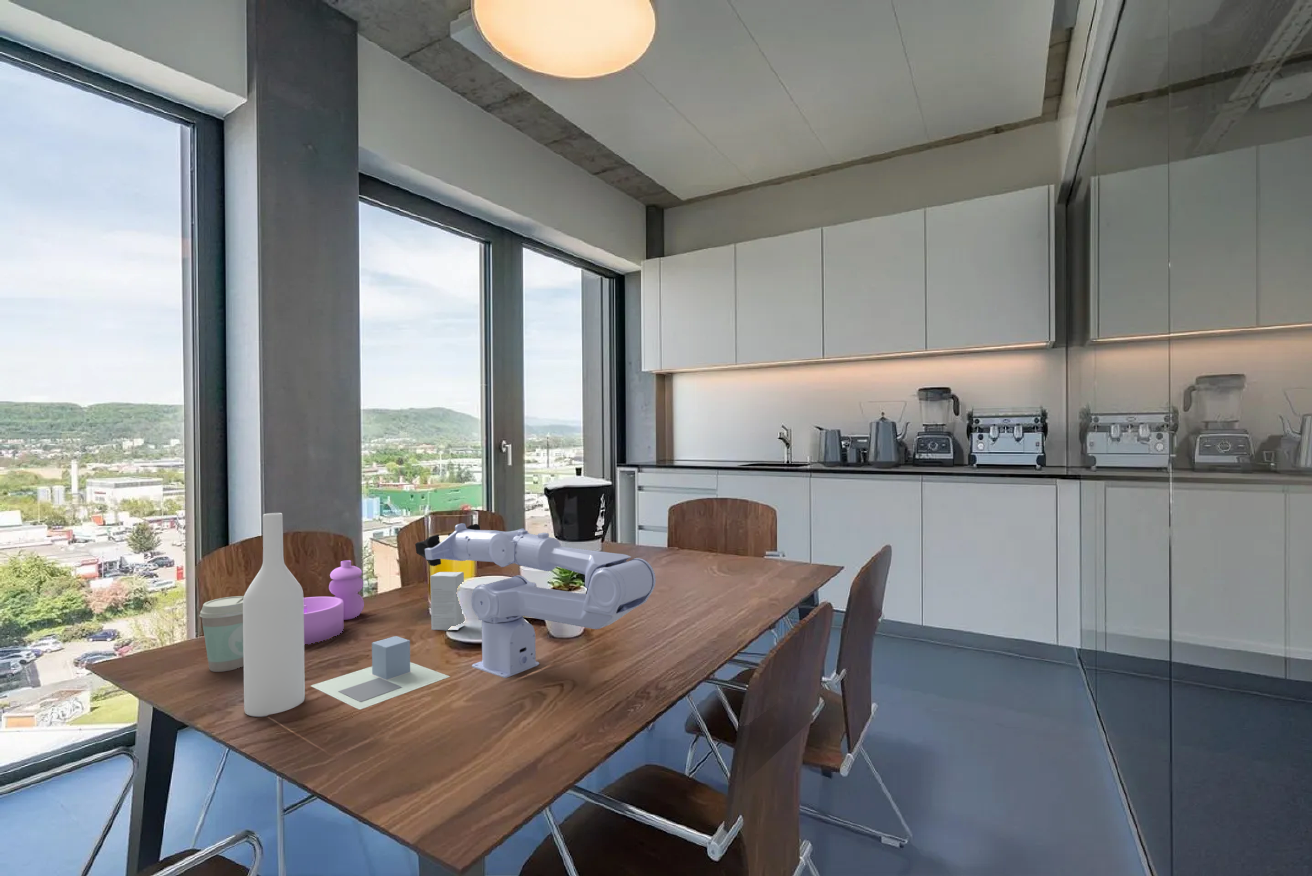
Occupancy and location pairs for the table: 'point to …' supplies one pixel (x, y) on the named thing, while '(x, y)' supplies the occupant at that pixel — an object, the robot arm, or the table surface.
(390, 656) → the blue-grey rectangular block
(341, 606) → the container set
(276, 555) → the bottle
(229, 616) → the coffee cup
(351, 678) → the mat
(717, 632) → the table surface
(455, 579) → the skincare box
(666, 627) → the table surface
